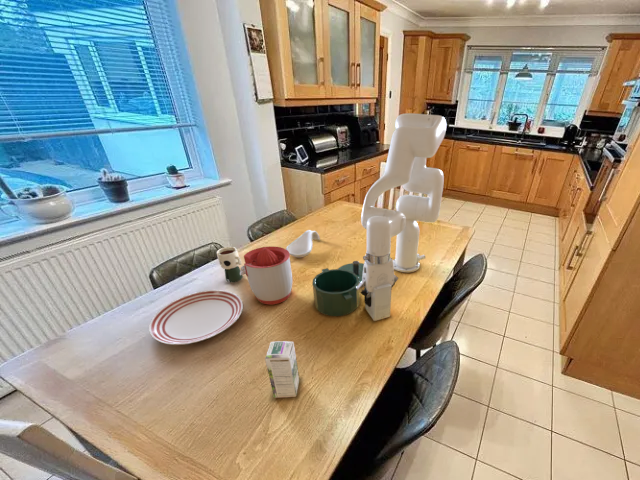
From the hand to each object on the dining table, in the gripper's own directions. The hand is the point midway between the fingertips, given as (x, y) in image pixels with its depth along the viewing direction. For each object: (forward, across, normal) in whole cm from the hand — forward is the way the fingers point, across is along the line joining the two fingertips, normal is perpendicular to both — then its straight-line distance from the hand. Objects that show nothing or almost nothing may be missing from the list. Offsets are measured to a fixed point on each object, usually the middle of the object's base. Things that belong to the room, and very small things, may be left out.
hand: (377, 301), depth 106 cm
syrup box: (+5, -37, -17) cm, 41 cm away
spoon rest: (+5, -6, +59) cm, 60 cm away
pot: (+5, -10, +12) cm, 16 cm away
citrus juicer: (+5, -30, +27) cm, 41 cm away
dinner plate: (+5, -54, +24) cm, 59 cm away
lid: (+4, +5, +26) cm, 27 cm away
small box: (+5, 0, 0) cm, 5 cm away
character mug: (+5, -40, +46) cm, 61 cm away
